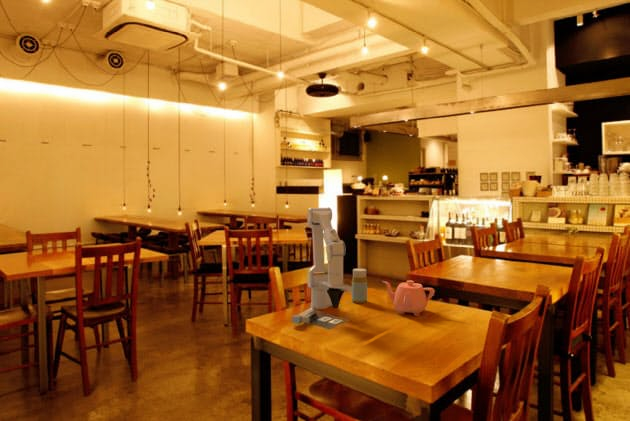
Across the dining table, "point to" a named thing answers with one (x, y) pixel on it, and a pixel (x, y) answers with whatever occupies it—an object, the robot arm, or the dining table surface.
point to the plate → (314, 321)
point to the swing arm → (304, 315)
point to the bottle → (359, 286)
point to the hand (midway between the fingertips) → (335, 307)
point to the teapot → (409, 297)
